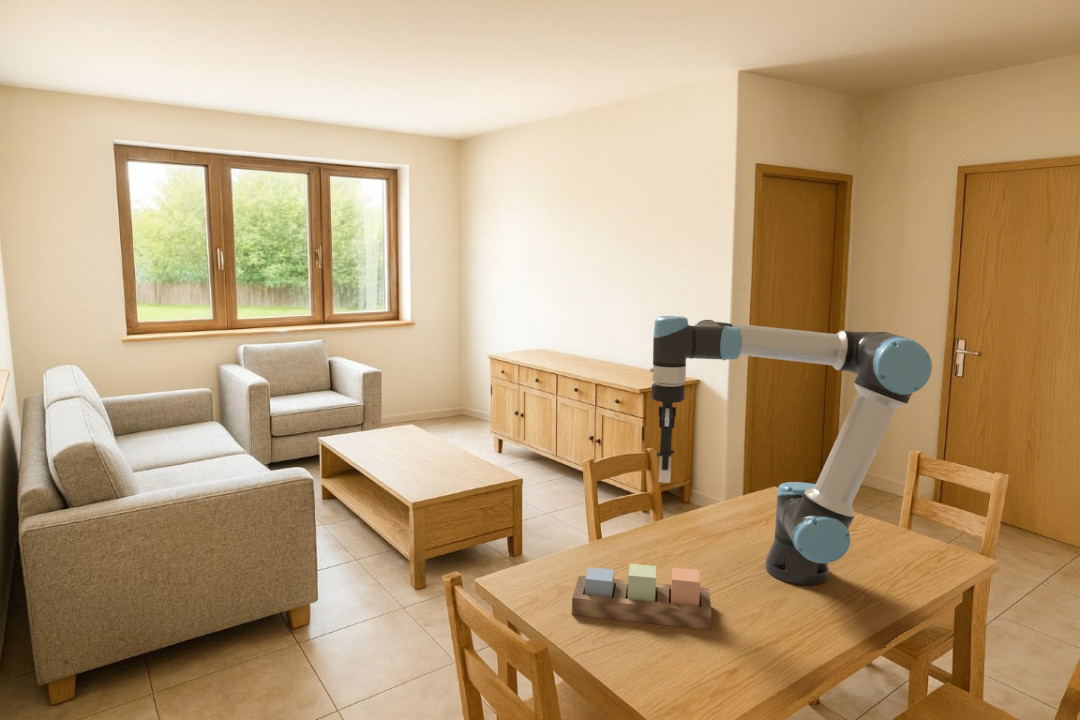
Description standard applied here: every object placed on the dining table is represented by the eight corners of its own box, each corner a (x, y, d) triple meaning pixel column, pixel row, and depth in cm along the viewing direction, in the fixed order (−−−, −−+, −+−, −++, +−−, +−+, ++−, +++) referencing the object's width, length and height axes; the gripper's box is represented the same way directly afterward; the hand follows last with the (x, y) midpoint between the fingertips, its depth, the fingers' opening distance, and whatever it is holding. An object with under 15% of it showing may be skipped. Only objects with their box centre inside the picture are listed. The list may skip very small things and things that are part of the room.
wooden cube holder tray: (708, 604, 160) (709, 588, 159) (710, 629, 149) (711, 612, 149) (578, 591, 166) (578, 575, 165) (571, 614, 155) (572, 597, 154)
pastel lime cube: (655, 595, 159) (656, 566, 158) (654, 607, 154) (655, 578, 153) (628, 592, 161) (629, 563, 160) (627, 605, 155) (628, 575, 154)
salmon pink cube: (697, 599, 158) (699, 570, 157) (698, 612, 152) (700, 582, 151) (670, 596, 159) (672, 567, 158) (670, 609, 153) (672, 579, 152)
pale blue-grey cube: (613, 598, 161) (614, 569, 160) (611, 610, 156) (612, 581, 155) (587, 595, 163) (588, 567, 162) (584, 608, 157) (585, 578, 156)
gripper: (652, 377, 168) (649, 472, 171) (651, 387, 155) (647, 489, 159) (684, 379, 166) (680, 474, 170) (685, 389, 154) (680, 492, 157)
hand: (664, 481), depth 164 cm, fingers closed
